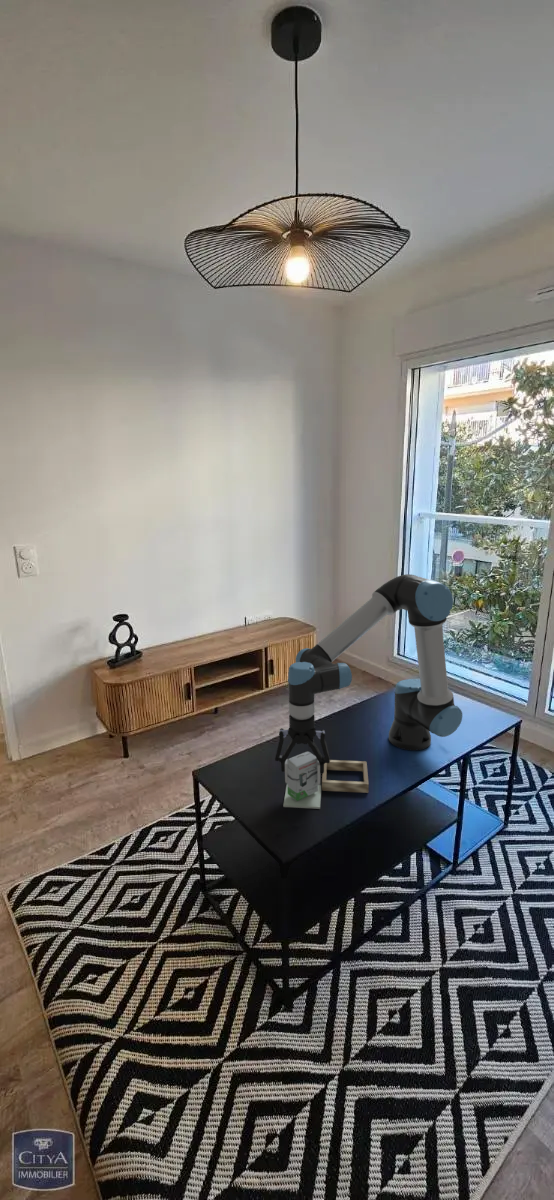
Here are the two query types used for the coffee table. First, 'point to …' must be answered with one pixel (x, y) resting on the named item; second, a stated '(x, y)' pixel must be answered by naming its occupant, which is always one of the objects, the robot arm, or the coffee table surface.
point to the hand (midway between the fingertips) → (302, 781)
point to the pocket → (345, 785)
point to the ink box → (302, 775)
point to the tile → (303, 800)
